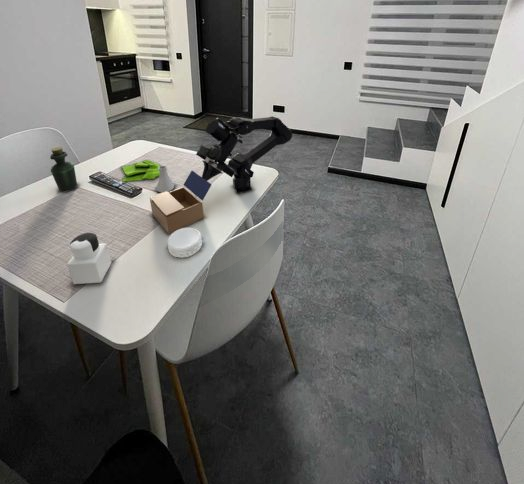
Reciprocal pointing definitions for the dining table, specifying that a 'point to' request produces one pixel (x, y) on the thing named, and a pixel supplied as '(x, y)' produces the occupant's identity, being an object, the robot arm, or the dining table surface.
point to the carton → (176, 209)
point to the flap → (197, 185)
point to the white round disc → (184, 242)
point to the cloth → (141, 171)
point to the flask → (164, 180)
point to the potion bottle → (63, 170)
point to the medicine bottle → (88, 259)
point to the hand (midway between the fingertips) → (201, 182)
